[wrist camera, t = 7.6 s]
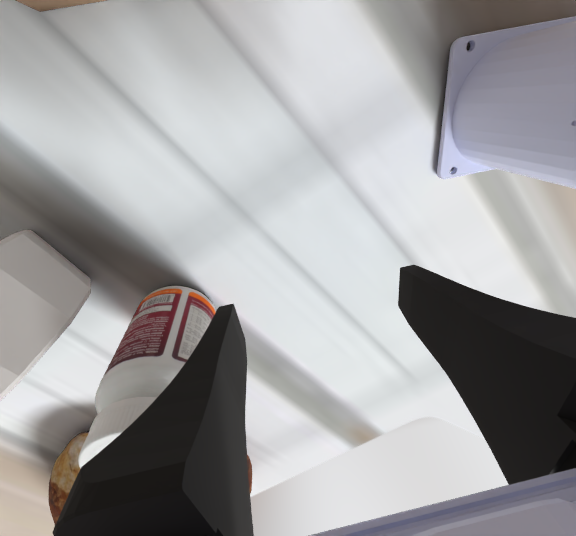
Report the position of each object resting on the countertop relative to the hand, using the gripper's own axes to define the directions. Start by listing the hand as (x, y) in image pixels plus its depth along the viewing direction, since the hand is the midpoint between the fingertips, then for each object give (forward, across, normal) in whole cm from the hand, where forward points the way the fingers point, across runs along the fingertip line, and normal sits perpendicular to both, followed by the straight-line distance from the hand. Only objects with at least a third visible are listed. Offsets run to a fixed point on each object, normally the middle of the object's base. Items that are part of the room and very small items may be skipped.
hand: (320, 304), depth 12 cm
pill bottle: (+10, +10, +6) cm, 15 cm away
